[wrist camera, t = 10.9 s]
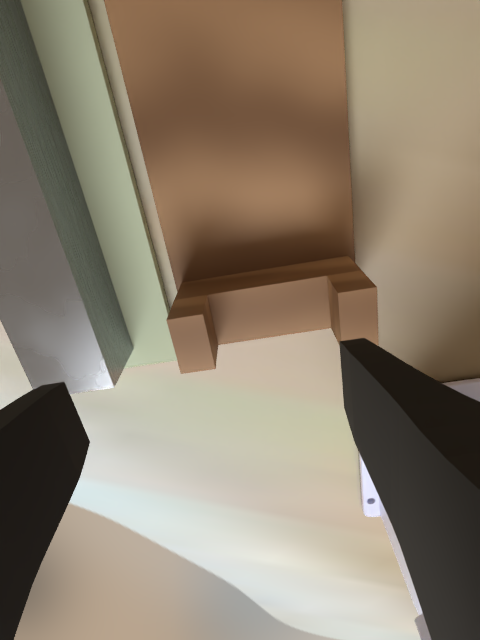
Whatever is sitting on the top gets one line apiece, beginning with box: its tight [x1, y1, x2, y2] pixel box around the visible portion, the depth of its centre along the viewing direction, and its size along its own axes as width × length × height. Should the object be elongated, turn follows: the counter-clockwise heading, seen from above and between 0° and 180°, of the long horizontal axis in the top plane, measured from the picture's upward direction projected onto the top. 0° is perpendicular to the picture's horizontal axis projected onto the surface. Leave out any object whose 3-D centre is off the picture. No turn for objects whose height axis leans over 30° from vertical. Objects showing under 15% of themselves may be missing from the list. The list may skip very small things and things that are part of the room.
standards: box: [104, 0, 378, 374], centre depth 14 cm, size 18×8×5 cm, turn 10°
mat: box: [21, 0, 177, 368], centre depth 17 cm, size 20×8×1 cm, turn 10°
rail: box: [0, 0, 134, 394], centre depth 15 cm, size 18×4×4 cm, turn 10°
